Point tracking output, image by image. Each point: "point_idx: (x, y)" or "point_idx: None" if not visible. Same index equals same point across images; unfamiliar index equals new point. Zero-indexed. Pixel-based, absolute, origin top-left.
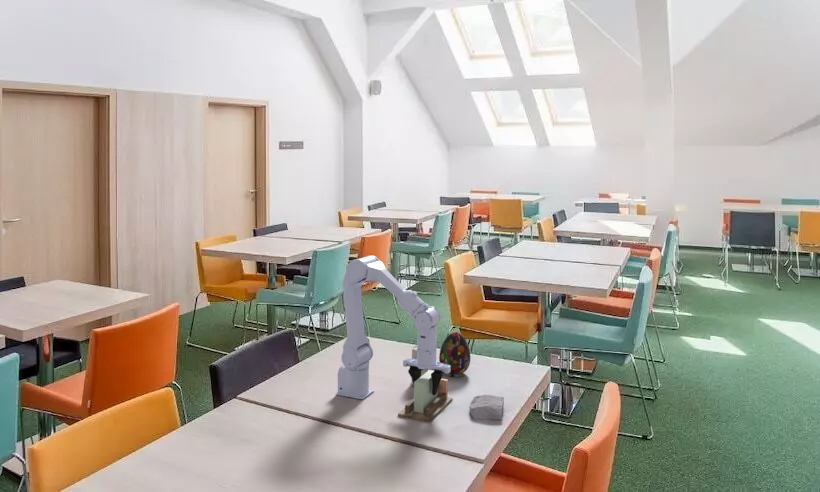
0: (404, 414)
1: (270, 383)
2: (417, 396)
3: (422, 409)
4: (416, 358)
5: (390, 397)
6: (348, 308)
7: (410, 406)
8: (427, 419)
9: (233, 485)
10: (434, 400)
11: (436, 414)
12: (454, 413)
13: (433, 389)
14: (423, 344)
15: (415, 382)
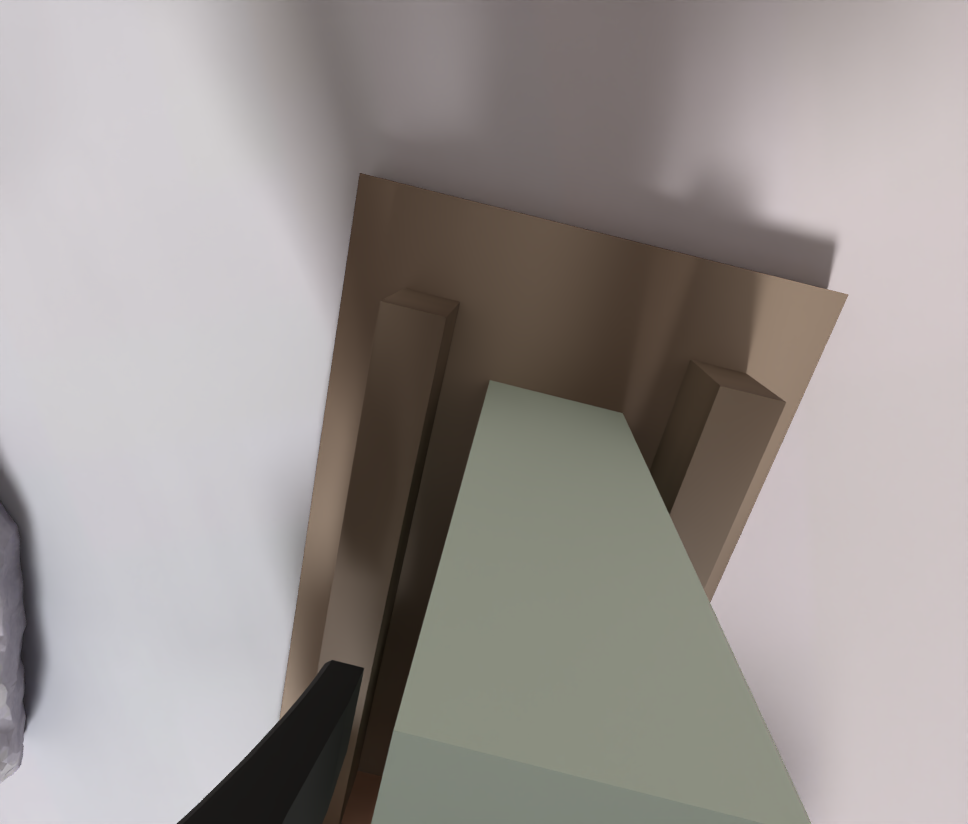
0: (747, 282)
1: None
2: (597, 503)
3: (499, 396)
4: None
5: (932, 775)
6: None
7: (687, 438)
8: (394, 182)
9: None
10: (373, 633)
11: (330, 401)
12: (168, 498)
13: (295, 735)
14: None
15: (755, 810)
